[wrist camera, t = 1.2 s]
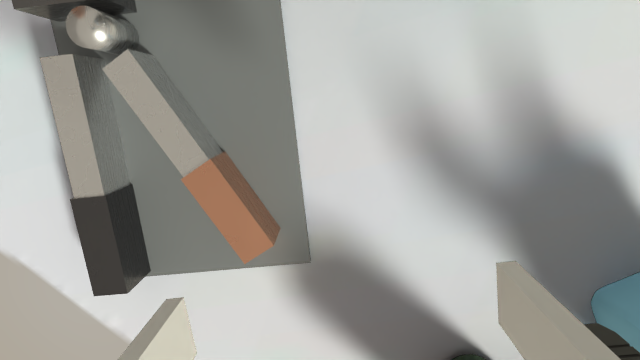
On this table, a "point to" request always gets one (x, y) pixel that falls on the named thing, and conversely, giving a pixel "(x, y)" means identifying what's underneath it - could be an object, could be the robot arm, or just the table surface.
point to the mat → (213, 126)
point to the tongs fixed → (94, 156)
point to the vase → (620, 308)
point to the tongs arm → (178, 132)
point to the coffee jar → (469, 357)
